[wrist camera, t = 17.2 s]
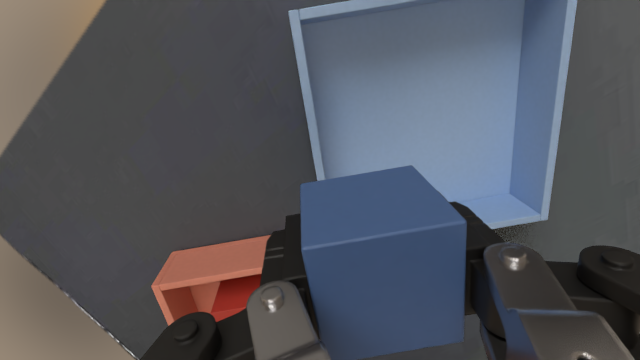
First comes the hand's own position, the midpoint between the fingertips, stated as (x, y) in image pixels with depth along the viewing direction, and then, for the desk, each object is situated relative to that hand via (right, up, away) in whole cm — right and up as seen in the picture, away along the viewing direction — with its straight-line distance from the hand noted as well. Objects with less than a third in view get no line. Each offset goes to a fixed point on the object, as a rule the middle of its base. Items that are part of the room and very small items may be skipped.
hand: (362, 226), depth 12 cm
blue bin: (+6, +7, +14) cm, 17 cm away
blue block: (0, 0, 0) cm, 0 cm away
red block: (-9, -9, +19) cm, 23 cm away
